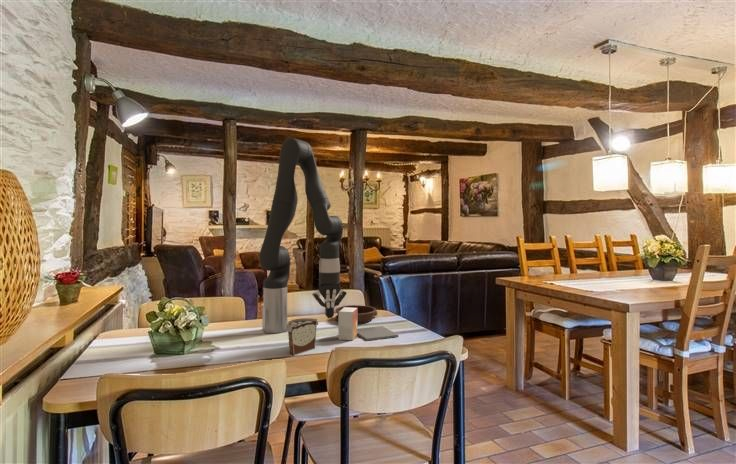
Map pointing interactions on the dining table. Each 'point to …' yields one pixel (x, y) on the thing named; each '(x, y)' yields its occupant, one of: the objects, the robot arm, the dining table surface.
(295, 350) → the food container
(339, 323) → the small box
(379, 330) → the slate board
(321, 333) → the dining table surface
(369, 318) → the dish
